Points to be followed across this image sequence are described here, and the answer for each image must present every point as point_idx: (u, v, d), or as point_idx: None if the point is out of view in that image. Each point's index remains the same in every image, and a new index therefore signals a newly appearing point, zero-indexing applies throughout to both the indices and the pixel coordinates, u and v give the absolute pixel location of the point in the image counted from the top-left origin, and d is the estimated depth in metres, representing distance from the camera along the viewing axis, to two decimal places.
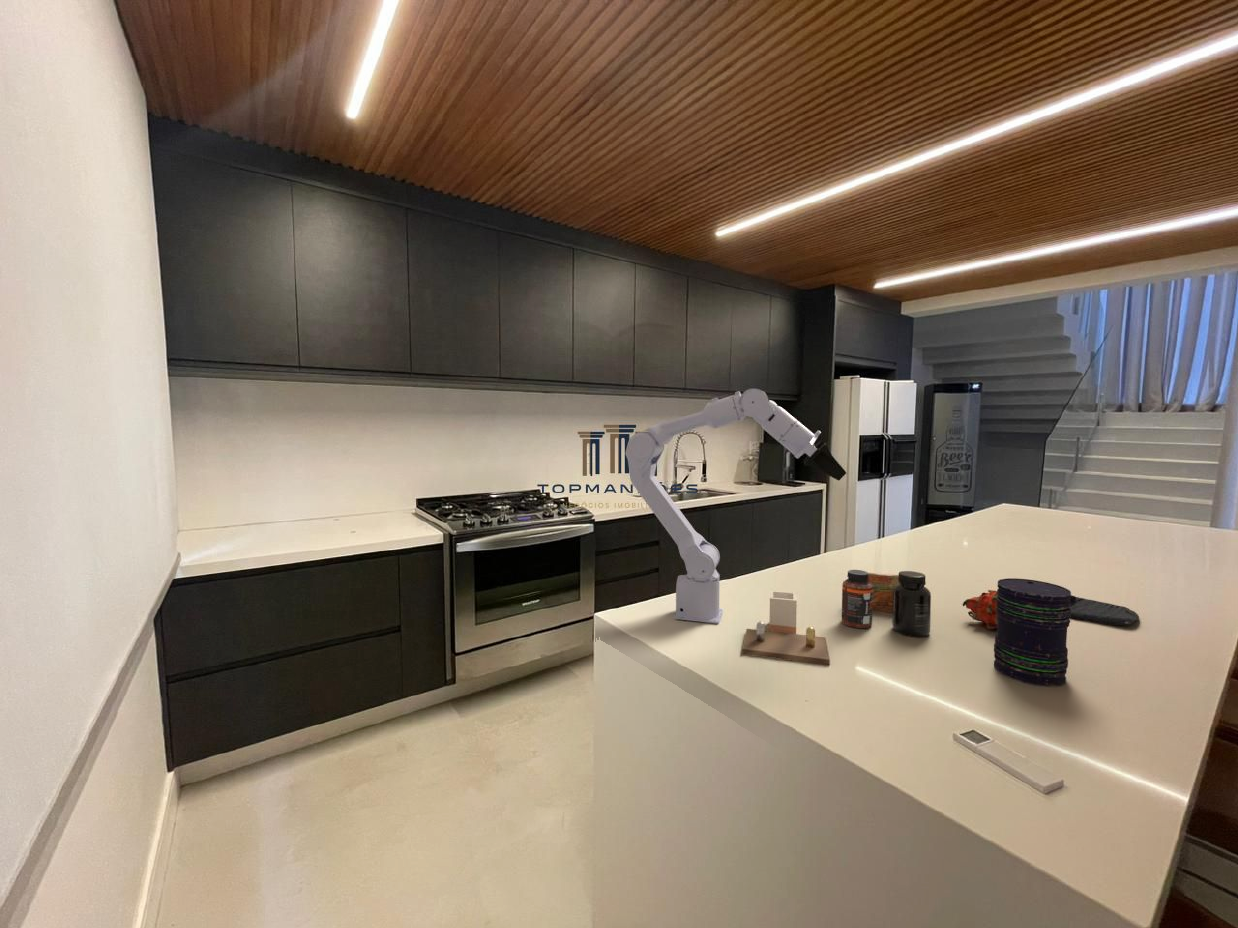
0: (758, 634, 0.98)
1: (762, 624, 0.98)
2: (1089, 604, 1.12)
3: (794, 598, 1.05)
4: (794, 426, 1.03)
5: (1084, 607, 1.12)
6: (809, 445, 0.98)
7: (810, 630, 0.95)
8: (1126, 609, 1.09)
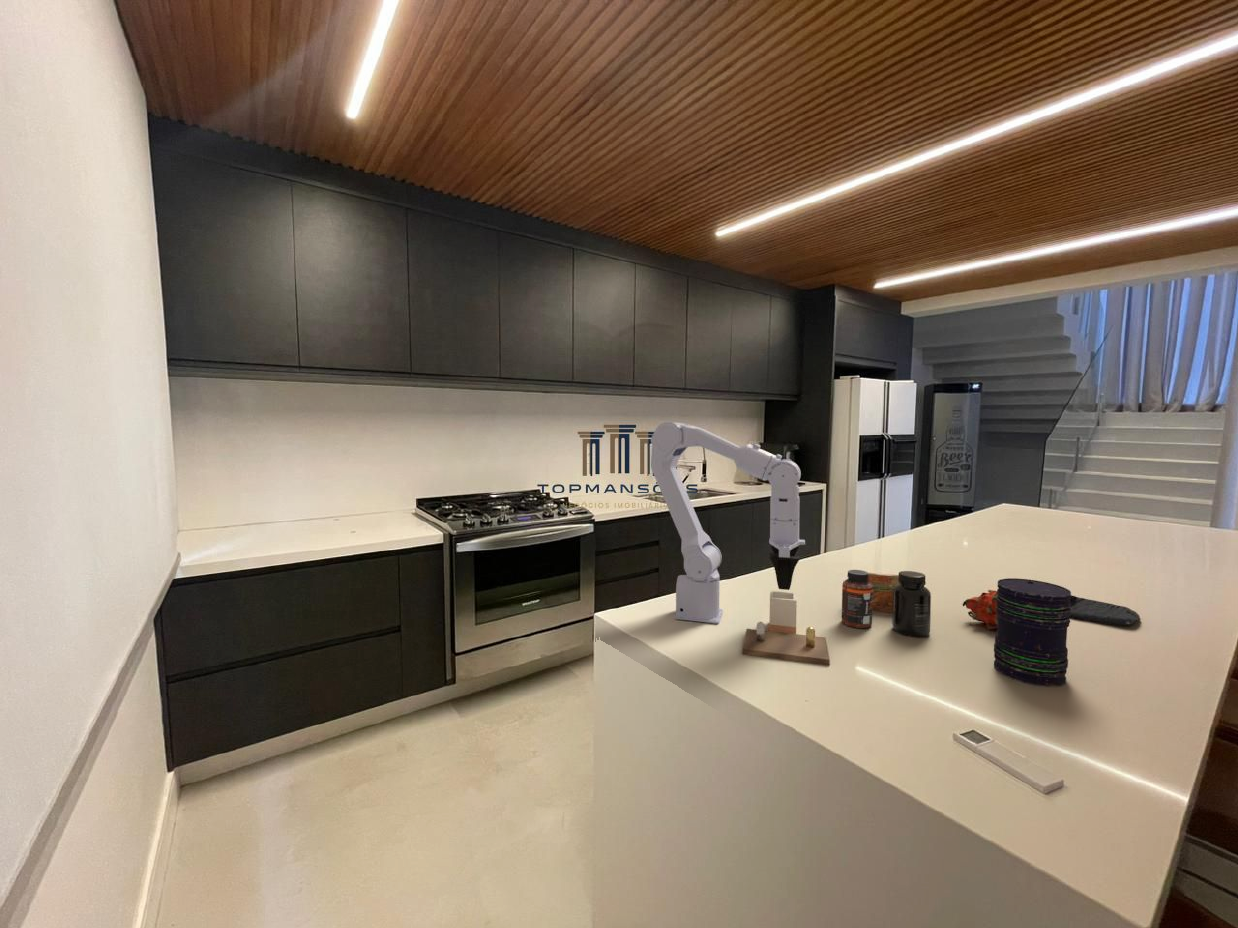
0: (758, 634, 0.98)
1: (762, 624, 0.98)
2: (1090, 605, 1.12)
3: (794, 598, 1.05)
4: (792, 522, 1.03)
5: (1085, 607, 1.11)
6: (787, 549, 0.99)
7: (810, 630, 0.95)
8: (1127, 609, 1.09)
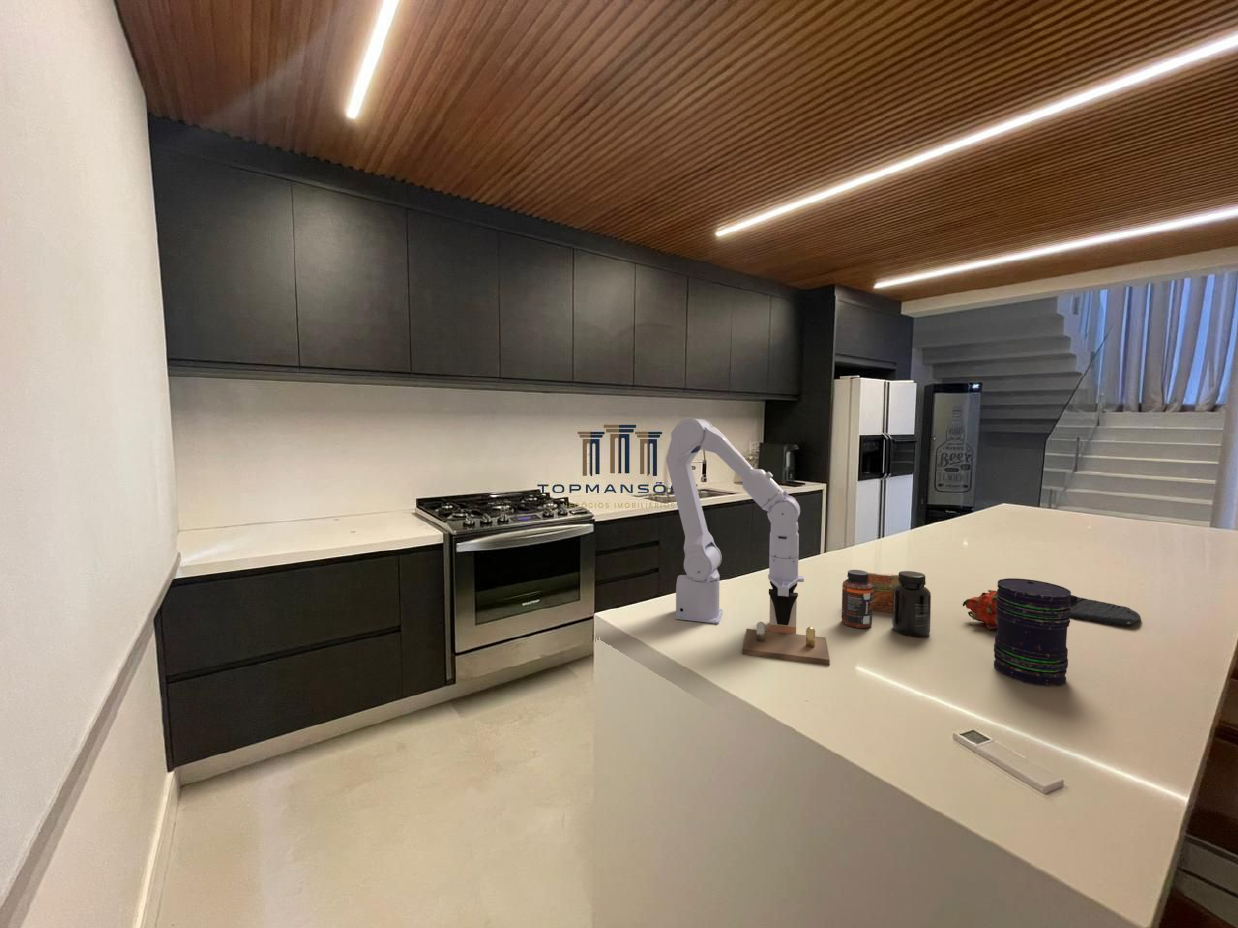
0: (758, 634, 0.98)
1: (762, 624, 0.98)
2: (1091, 605, 1.12)
3: None
4: (791, 560, 1.03)
5: (1086, 607, 1.11)
6: (786, 588, 0.99)
7: (810, 630, 0.95)
8: (1128, 609, 1.09)
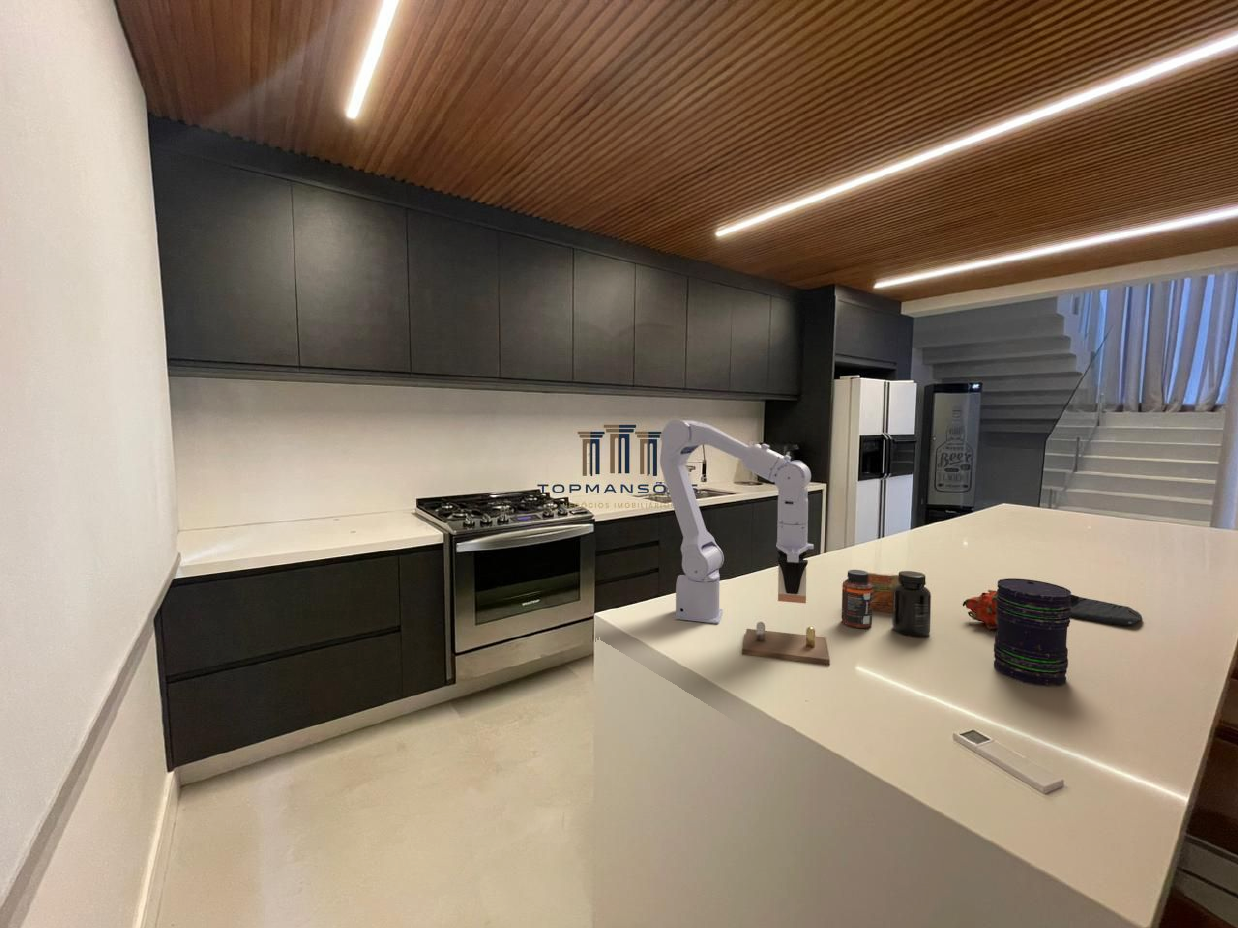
0: (758, 634, 0.98)
1: (762, 624, 0.98)
2: (1092, 604, 1.12)
3: None
4: (801, 526, 1.00)
5: (1087, 607, 1.11)
6: (796, 554, 0.96)
7: (810, 630, 0.95)
8: (1129, 609, 1.08)
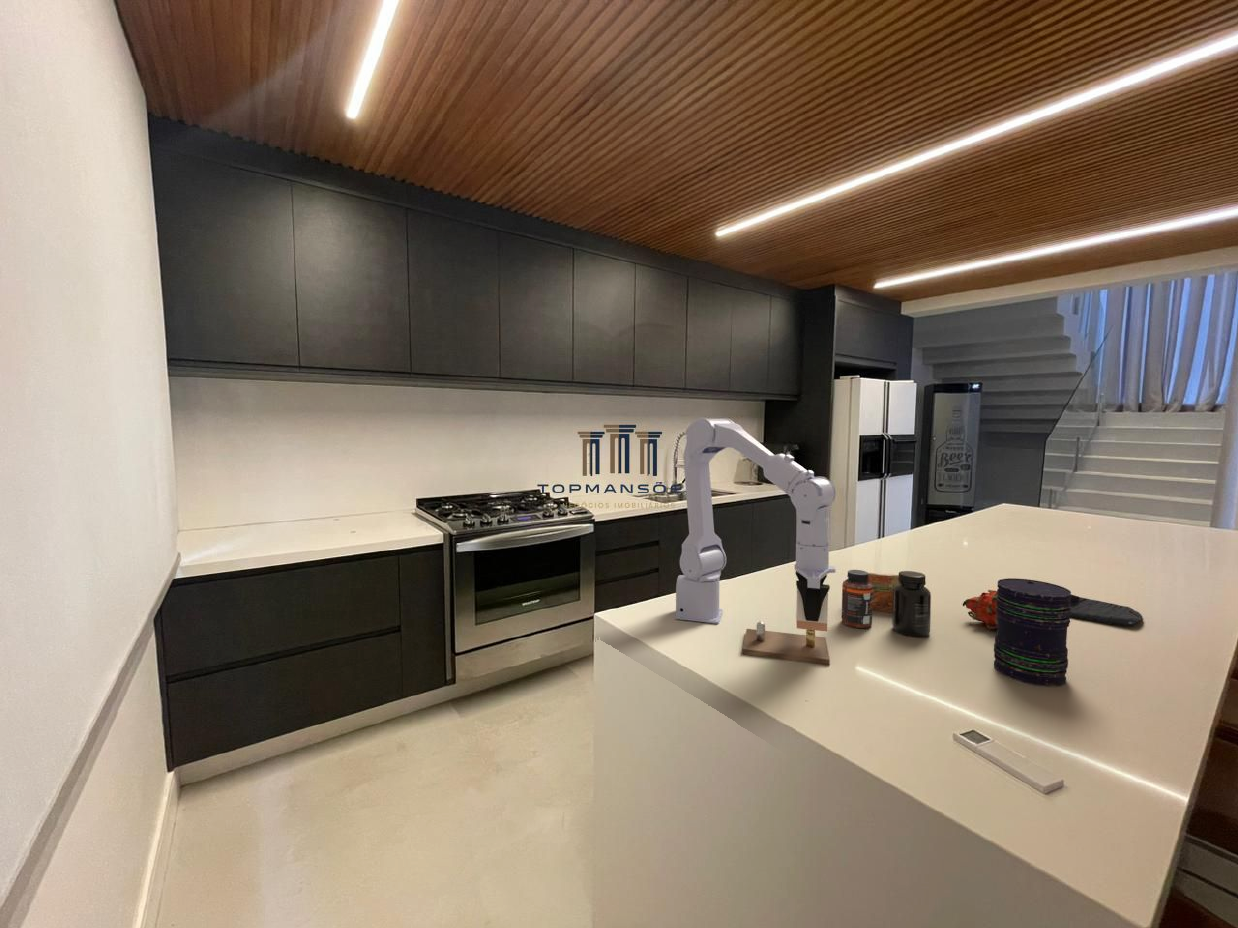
0: (758, 634, 0.98)
1: (762, 624, 0.98)
2: (1093, 605, 1.12)
3: None
4: (822, 548, 0.92)
5: (1087, 607, 1.11)
6: (817, 579, 0.88)
7: (810, 630, 0.95)
8: (1130, 609, 1.08)
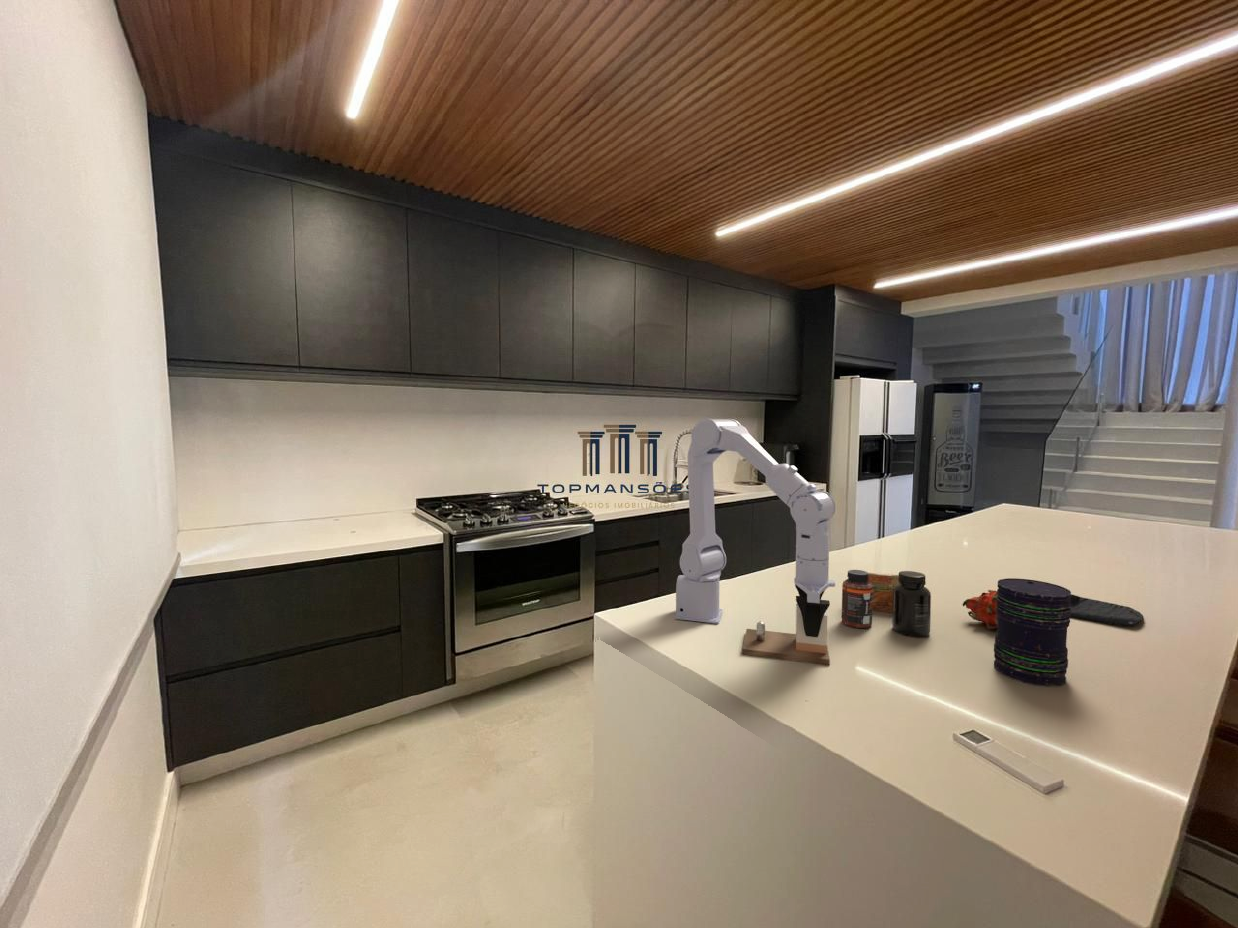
0: (758, 634, 0.98)
1: (762, 624, 0.98)
2: (1093, 605, 1.12)
3: None
4: (821, 562, 0.92)
5: (1088, 607, 1.11)
6: (817, 594, 0.88)
7: None
8: (1130, 609, 1.08)
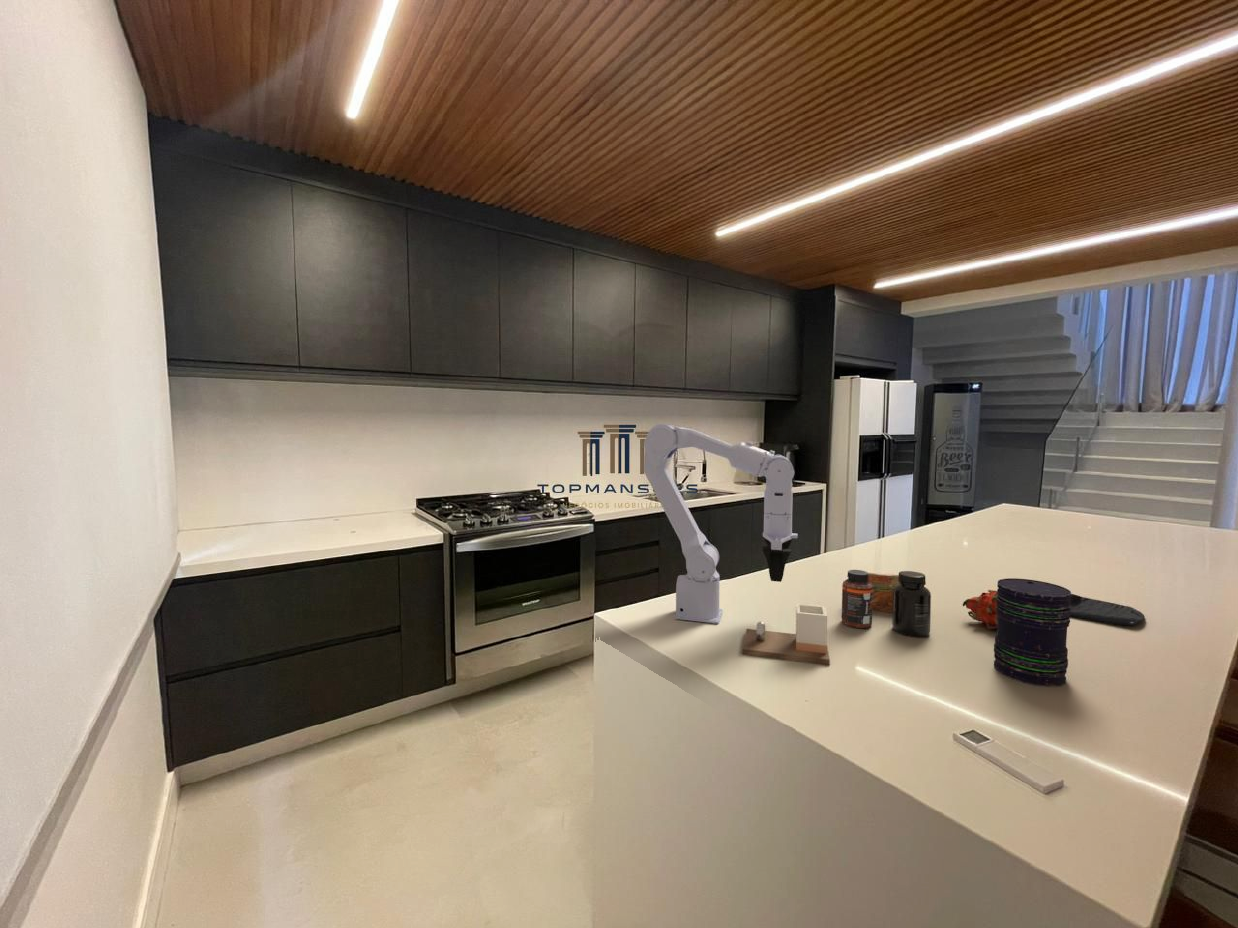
0: (758, 634, 0.98)
1: (762, 624, 0.98)
2: (1094, 604, 1.12)
3: (824, 613, 0.94)
4: (785, 516, 1.06)
5: (1089, 606, 1.12)
6: (779, 542, 1.02)
7: None
8: (1131, 609, 1.08)
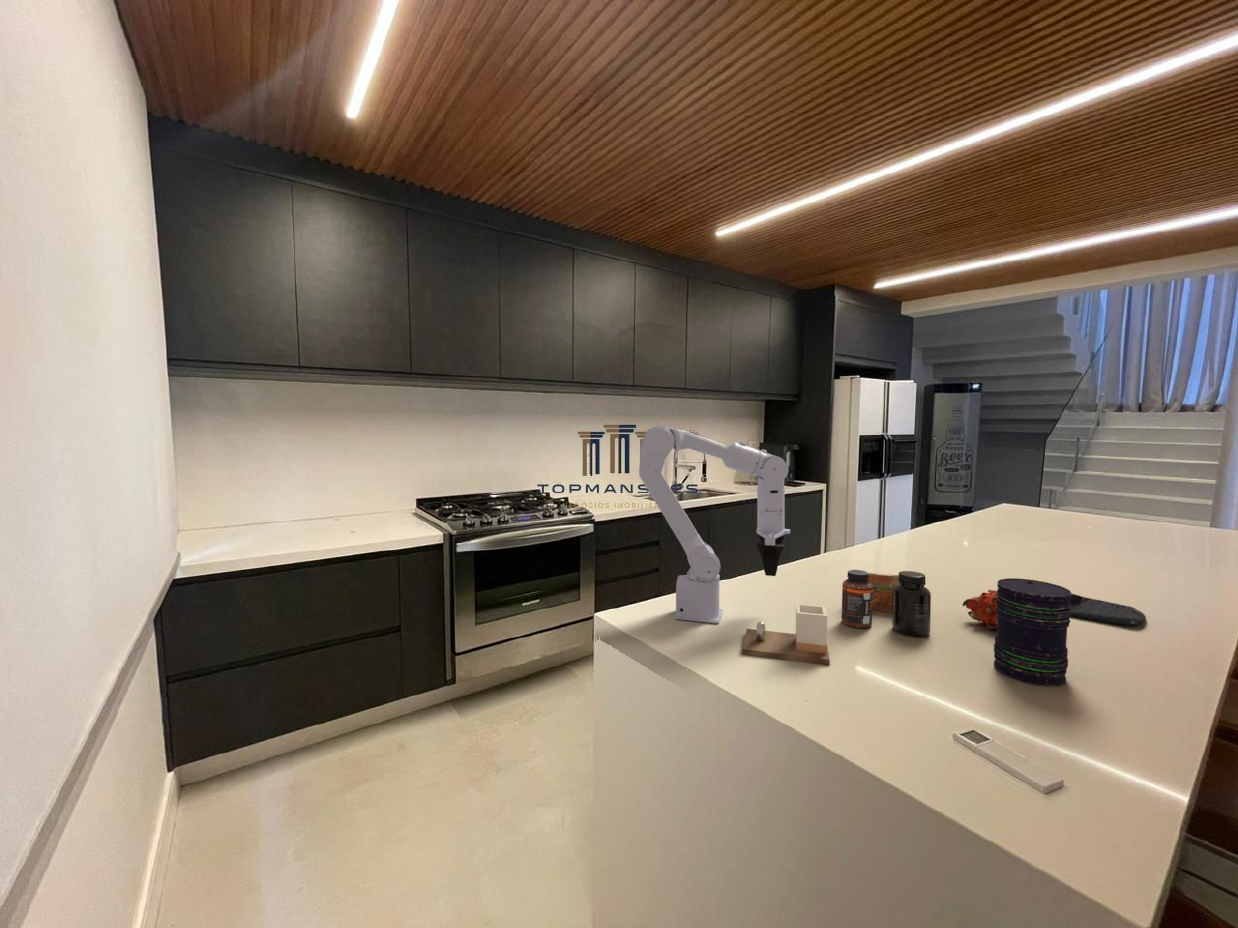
0: (758, 634, 0.98)
1: (762, 624, 0.98)
2: (1095, 604, 1.12)
3: (824, 613, 0.94)
4: (778, 512, 1.09)
5: (1090, 606, 1.11)
6: (772, 538, 1.05)
7: None
8: (1132, 609, 1.08)
